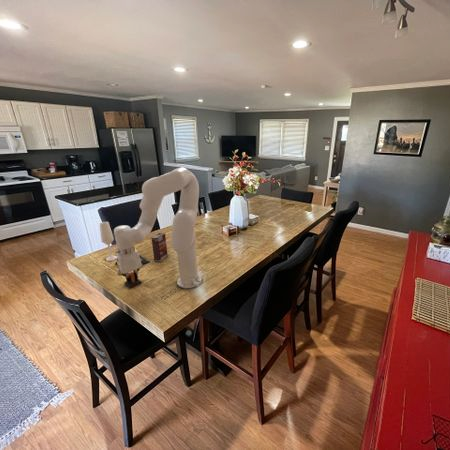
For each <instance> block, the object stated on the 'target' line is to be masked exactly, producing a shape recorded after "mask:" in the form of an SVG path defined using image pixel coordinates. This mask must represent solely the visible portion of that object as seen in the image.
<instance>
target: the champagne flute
mask: <svg viewBox="0 0 450 450" xmlns="http://www.w3.org/2000/svg"><path fill="white" fill-rule="evenodd" d="M110 225H111V224H110V222H109V221H102V222H99V231H100V241H101V242H102V243H103V244H105V245H107V248H108V253H109V255H108V256H107V257H106V258H105V260H106V261H108V262H109V261H110V262H111V261H114V260H117V255H113V252H112V247H111V244H112V243H113V241H114V240H115V237H114V233H113V231H112V229H111V226H110Z"/></svg>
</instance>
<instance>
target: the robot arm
mask: <svg viewBox="0 0 450 450" xmlns="http://www.w3.org/2000/svg"><path fill="white" fill-rule="evenodd" d="M179 191H180V197H179V205H178V210H177V212H176V213H175V215H174V216H173V220H172V226H171V237H170V245H171V248H172V249H173V251H174V252H176V255H177V257H176V258H177V266H178V275H179V278H178V279H177V281H176V284H177V286H178V287H180V288H182V289H192V288H195V287H199V286H200V284H202V276H200V275H199V271H198V270H199V269H198V258H197V257H198V256H197V235H196V230H195V224H196V222H197V219H198V209H199V197H200V185H199V181H198V179H197V177H196V176H195V174H194V173H193V172H192V171H191V170H189V169H188V168H185V167H177V168H175V169H173V170H172V171H169V172H167V173H166V172H165V173H164V174H162V175H159V176H155V177H151V178H149V179H147V180H146V181H144V182H143V183H142V186H141V193H142V197H141V200H140V202H139V208H140V210H141V214H140V216H139V220H138V221H137V224H135V225H134V226H133V227H131V226H130V225H125V224H124V225H123V224H122V225H118V226H116V227H114V229H113V236H114V240H115V244H116V250H115V251H114V253H115V254H116V256H117V258H116V262H117V264H118V265H117V264H116V265H117V272H116V275H117V276H119V277H124V278H125V282H126V281H127V282H129V283H130V284H131V278H130V276H129V273H130V272H134V276H135V280H136V281H138V279H139V275H138V274H139V271H140V270H141V269H142V268H143V267H144V264H143V265H142V264H141V261H140V257H139V255H140V254H139V252H138V250H137V249H136V248H135V244H140V243H143V242H144V240H145V239H146V238H147V237H148V236H149V235H150V233H152V230H153V228H154V225H155V223H156V220H157V218H158V213H159V210H160V208H161V207H160V206H161V205H162V202H163V200H164V198H165V197H166V196H168V195H171V194H174V193H176V192H179Z"/></svg>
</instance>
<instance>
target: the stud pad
mask: <svg viewBox="0 0 450 450" xmlns="http://www.w3.org/2000/svg"><path fill="white" fill-rule="evenodd" d="M129 276H130V278H131V284H130V283H129V282H127V281H126V280H125V281H124V285H126V287H128V288H129V289H132V288H134V287H136V286H138V285H141V284H142V281H141V279H139V278H137V279H138V281H136V280H135V276H134V272H133V271H131V272H129Z"/></svg>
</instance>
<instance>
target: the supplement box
mask: <svg viewBox="0 0 450 450" xmlns="http://www.w3.org/2000/svg"><path fill="white" fill-rule="evenodd" d="M151 244H152V255H153V260H154V262H161V263H162V262H163V260H164V259H166V258H167V257H169V255H168V247H167V237H166V233H162V232H158V233H157V234H156V235H154V236H153V237H151Z"/></svg>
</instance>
